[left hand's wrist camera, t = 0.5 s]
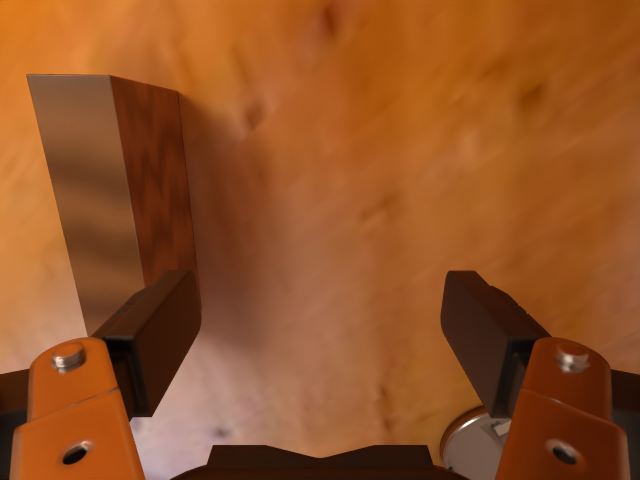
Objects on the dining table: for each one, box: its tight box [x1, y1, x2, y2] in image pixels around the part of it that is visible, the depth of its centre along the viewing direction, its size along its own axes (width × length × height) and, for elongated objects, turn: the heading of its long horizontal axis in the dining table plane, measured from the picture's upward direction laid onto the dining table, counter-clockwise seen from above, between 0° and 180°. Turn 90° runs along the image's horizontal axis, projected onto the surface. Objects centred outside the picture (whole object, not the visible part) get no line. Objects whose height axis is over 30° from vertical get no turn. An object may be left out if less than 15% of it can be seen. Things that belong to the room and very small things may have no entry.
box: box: [26, 74, 201, 337], centre depth 34 cm, size 25×6×12 cm, turn 179°
